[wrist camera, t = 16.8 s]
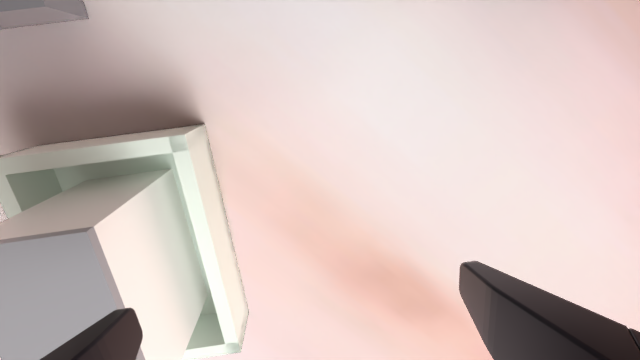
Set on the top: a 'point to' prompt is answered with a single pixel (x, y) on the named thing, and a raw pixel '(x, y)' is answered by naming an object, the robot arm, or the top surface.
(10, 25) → the dock
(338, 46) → the top surface
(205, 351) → the tray
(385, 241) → the top surface
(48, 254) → the grey rectangular block
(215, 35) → the top surface
